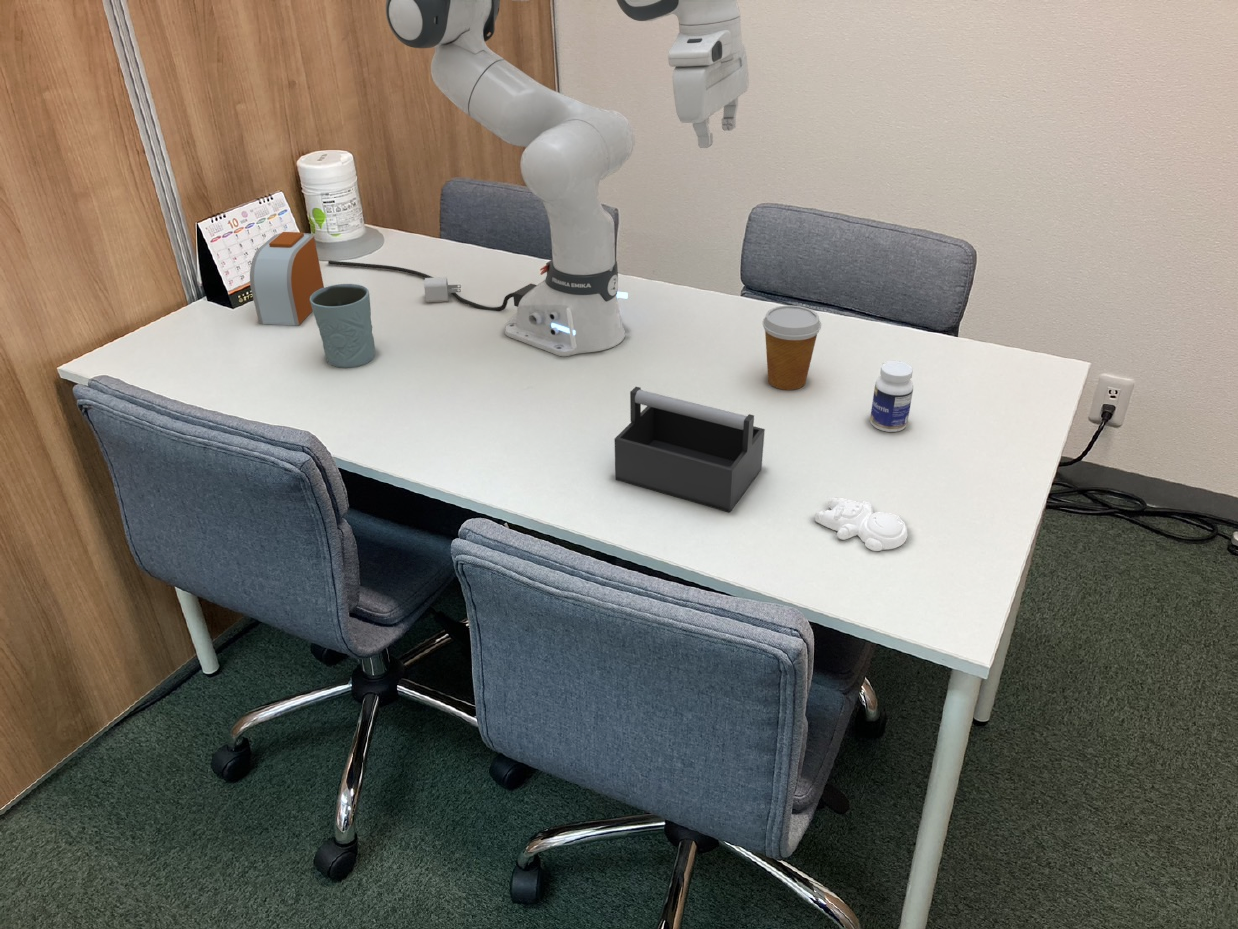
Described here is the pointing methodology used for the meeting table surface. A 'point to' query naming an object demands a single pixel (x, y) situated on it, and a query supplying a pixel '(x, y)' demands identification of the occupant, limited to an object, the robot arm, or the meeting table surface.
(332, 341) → the green embossed cup
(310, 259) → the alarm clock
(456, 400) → the meeting table surface
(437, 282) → the usb wall charger
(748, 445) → the black bin
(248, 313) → the meeting table surface
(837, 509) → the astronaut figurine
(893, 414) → the pill bottle
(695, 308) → the meeting table surface
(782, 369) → the disposable coffee cup
